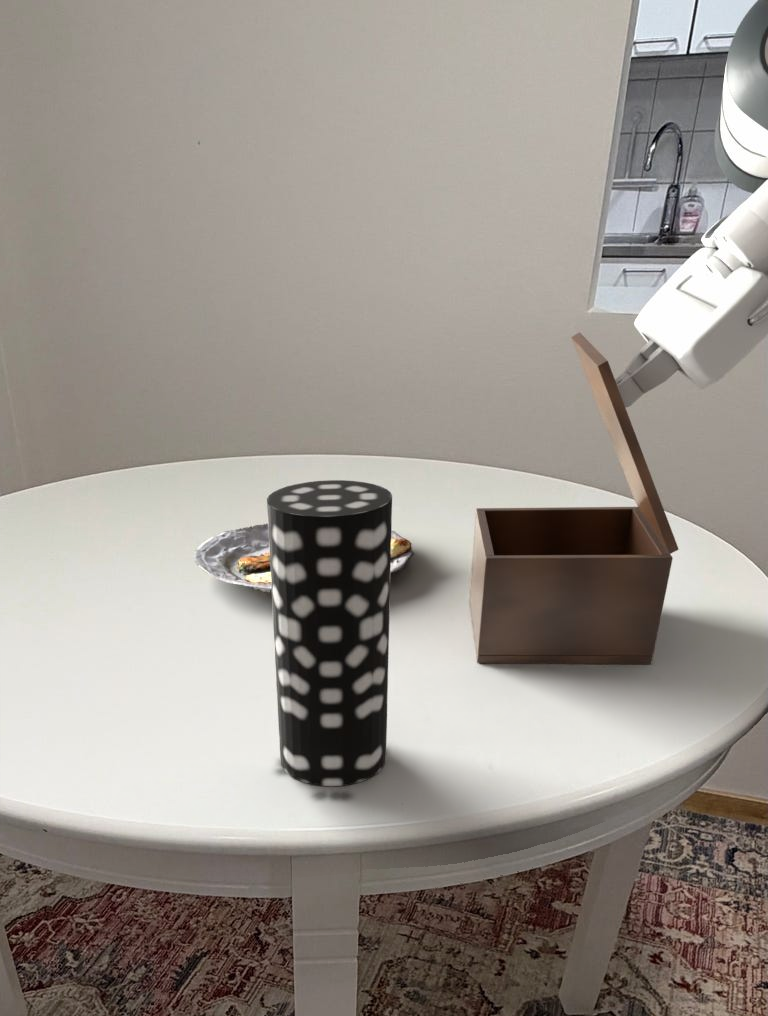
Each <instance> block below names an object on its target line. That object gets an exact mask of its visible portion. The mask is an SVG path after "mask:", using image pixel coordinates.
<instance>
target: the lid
mask: <svg viewBox="0 0 768 1016" xmlns="http://www.w3.org/2000/svg"><path fill="white" fill-rule="evenodd" d="M570 339H571V340H572V343H573V345H574V348H575V350H576V353H577V357H578V358H579V361H580V363H581V366H582V368H583V372H584V373H585V377H586V379H587V381H588V384H589V386H590V390H591V393H592V395H593V396H594V399H595V403H596V404H597V407H598V410H599V412H600V415H601V418H602V420H603V422H604V425H605V427H606V430H607V434H608V435H609V438H610V439H611V440H610V441H611V443H612V445H613V449H614V451H615V453H616V456H617V459H618V461H619V463H620V466H621V468H622V471H623V474H624V477H625V479H626V481H627V484H628V487H629V490H630V492H631V494H632V498H633V499H634V502H635V504H636V505H637V506H636V507H639V509H640V510H641V512H642V513H643V515H644V516H645V518H646V519H647V521H648V522H649V524H650V525H651V527H652V528H653V530H654V531H655V533H656V535H657V536H658V538H659V539H660V541H661V542H662V544H663V545H664V547H665V548H666V550H667V551H668V553H669V554H673V553H675V552H677V551H679V546H678V544H677V541H676V538H675V536H674V532H673V531H672V528H671V525H670V522H669V520H668V517H667V515H666V512H665V509H664V506H663V504H662V501H661V498H660V496H659V493H658V490H657V487H656V485H655V482H654V480H653V477H652V475H651V472H650V469H649V466H648V464H647V461H646V458H645V456H644V453H643V451H642V448H641V445H640V443H639V440H638V437H637V435H636V432H635V428H634V427H633V424H632V421H631V419H630V416H629V413H628V411H627V409H626V408H627V407H625V405H624V403H623V400H622V397H621V395H620V392H619V389H618V387H617V384H616V381H615V379H616V378H615V376H614V373H613V371H612V368H611V366H610V364H609V360H608V359H607V358H605V356H604V355H603V354H601V352H600V351H599V350H598V349H597V348H596V347H595V346H594V345H593V344H592V343H591V342H590V341H589V340H588V339H587V337H585V336H584V335H583V334H582V333H581V332H578V333H576V334H573V336H571V338H570Z"/></svg>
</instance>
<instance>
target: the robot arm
mask: <svg viewBox="0 0 768 1016" xmlns="http://www.w3.org/2000/svg"><path fill="white" fill-rule="evenodd" d="M722 84H723V85H722V86H723V87H722V90H721V101H720V102H721V105H720V110H719V114H718V115H717V116H718V117H717V120H716V124H715V129H714V151H715V157H716V160H717V164H718V166H719V168H720V170H721V172H722V173H723V175H724V176H725V177H726V179H727V180H728V181H729V182H730V183H731V184H732V185H734V186H735V187H737V188H738V189H740V190H742V191H743V192H747V193H750V194H751V195H750V196H749V197H748V198H747V199H746V200H744V201H743V202H742V203H740V205H739V206H738V207H737V208H736V209H735V210H733V212H732V213H730V214H728V215H726V216H724V217H722V218H720V219H718V220H717V221H716V222H715V223H714V224H713V225H712V226H711V227H709V229H708V230H707V231H706V232H704V234H703V235H702V236H701V238H700V239H701V240H700V241H701V243H702V245H703V246H704V247H701V248H699V249H698V250H696V251H695V252H694V253H693V254H692V255H691V256H690V257H688V258H687V260H685V261H684V263H683V264H682V265H681V266H679V268H678V269H677V270H676V271H675V272H674V273H673V274H672V275H671V276H670V277H669V279H667V281H666V282H665V283H664V284H663V285H662V286H661V287H660V288H659V290H657V291H656V293H655V294H654V295H653V296H652V297H651V298H650V299H649V300H648V301H647V302H646V304H645V305H644V306H643V307H642V309H641V310H640V312H639V313H638V315H637V317H636V318H635V320H634V323H633V325H634V327H635V329H636V330H637V332H638V333H639V334H640V335H641V337H642V338H643V340H645V342H646V344H644V346H642V347H641V348H640V349H639V350H638V351H637V353H636V354H635V356H634V357H633V358H632V360H631V361H630V362H629V363H628V365H627V366H626V367H625V369H624V370H623V372H621V374H620V375H618V376H617V377H616V378H614V379H615V381H616V384H617V387H618V389H619V392H620V395H621V397H622V400H623V403H624V405H625V408H629V407H632V405H633V404H634V403H635V402H637V401H638V400H639V399H640V398H641V397H642V396H644V394H647V393H648V392H650V391H651V390H653V389H655V388H656V387H658V386H660V385H662V384H664V383H665V382H667V381H668V380H670V378H671V377H672V376H673V375H674V374H676V372H679V373H681V374H682V375H683V376H684V377H686V378H687V379H688V380H689V381H690V382H692V383H693V384H694V385H695V386H696V387H698V389H700V390H704V389H707V388H709V387H711V386H713V385H715V384H716V383H717V382H719V381H721V380H722V379H723V378H724V377H726V375H728V374H729V373H730V372H731V371H732V370H733V369H734V368H735V367H736V366H737V365H738V364H739V363H740V362H741V361H742V360H744V359H746V357H747V356H748V355H749V354H750V353H751V352H752V351H753V350H754V349H756V347H757V346H758V345H759V344H760V343H762V341H764V340H765V339H766V338H767V337H768V0H757V1H755V3H754V4H753V5H752V6H751V7H750V9H749V10H748V11H747V12H746V13H745V15H744V16H743V18H742V20H741V21H740V23H739V25H738V27H737V29H736V30H735V33H734V35H733V37H732V40H731V42H730V45H729V48H728V53H727V57H726V64H725V69H724V77H723V83H722Z"/></svg>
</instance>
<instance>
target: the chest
mask: <svg viewBox="0 0 768 1016" xmlns="http://www.w3.org/2000/svg"><path fill="white" fill-rule="evenodd" d="M474 518H475V519H474V529H473V530H474V532H473V544H472V545H473V546H472V557H471V558H472V559H471V570H470V584H469V598H468V606H469V607H468V608H469V615H470V621H471V627H472V628H471V629H472V637H473V642H474V651H475V656H476V657H475V658H476V664H556V665H557V664H560V665H561V664H563V665H564V664H567V665H569V664H572V665H573V664H575V665H576V664H577V665H578V664H579V665H584V664H585V665H652V663H653V658H654V653H655V648H656V643H657V638H658V634H659V628H660V624H661V620H662V619H661V618H662V613H663V608H664V605H665V604H664V603H665V599H666V593H667V590H668V589H667V588H668V583H669V579H670V575H671V570H672V569H671V568H672V563H673V559H674V558H673V556H672V555H671V554H672V553H671V554H669V553H668V551H667V550H666V548H665V547H664V545H663V544H662V542H661V541H660V539H659V538H658V536H657V535H656V533H655V531H654V530H653V528H652V527H651V525H650V524H649V522H648V521H647V519H646V518H645V516H644V515H643V513H642V512H641V510H640V509H639V507H638V506H578V507H577V506H576V507H575V506H574V507H573V506H570V507H569V506H567V507H566V506H565V507H563V506H562V507H487V508H485V507H481V508H480V507H479V508H476V509H475V517H474Z"/></svg>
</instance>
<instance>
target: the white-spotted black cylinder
mask: <svg viewBox="0 0 768 1016" xmlns="http://www.w3.org/2000/svg"><path fill="white" fill-rule="evenodd" d="M266 507H267V508H266V510H267V524H268V531H269V550H270V569H271V588H272V590H271V606H272V624H273V641H274V643H273V645H274V646H273V647H274V663H275V680H276V681H275V682H276V683H275V684H276V699H277V700H276V701H277V703H276V704H277V720H278V739H279V758H280V759H279V760H280V765H281V768H282V769H283V771H285V772H286V774H287V775H289V776H290V777H292V778H293V779H296V780H297V781H300V782H302V783H307V784H309V785H314V786H322V787H326V786H327V787H339V786H348V785H354V784H357V783H361V782H364V781H366V780H368V779H371V778H372V777H374V776H375V775H377V774H378V773H379V772H380V771H381V770H382V769H383V768H384V767H385V764H386V762H387V739H388V738H387V734H388V693H389V692H388V691H389V654H390V653H389V651H390V650H389V649H390V648H389V647H390V646H389V645H390V613H391V612H390V609H391V608H390V607H391V573H390V570H391V530H392V526H393V525H392V524H393V523H392V522H393V494H392V492H391V491H390V490H388V489H387V488H385V487H383V486H380V485H377V484H375V483H371V482H365V481H359V480H346V479H345V480H341V479H336V480H335V479H333V480H331V479H328V480H315V481H306V482H301V483H295V484H291V485H287V486H285V487H282V488H279V489H276V490H275V491H273V492H271V493H270V494H269V495H268V496H267V498H266Z"/></svg>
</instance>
